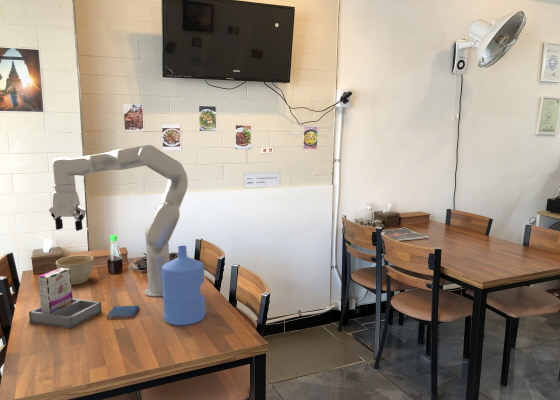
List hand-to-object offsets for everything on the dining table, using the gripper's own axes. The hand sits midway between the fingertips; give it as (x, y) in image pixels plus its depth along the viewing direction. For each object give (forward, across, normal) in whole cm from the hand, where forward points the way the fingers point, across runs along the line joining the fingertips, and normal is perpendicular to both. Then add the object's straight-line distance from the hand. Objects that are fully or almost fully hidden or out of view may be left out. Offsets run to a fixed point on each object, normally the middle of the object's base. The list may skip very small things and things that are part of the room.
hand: (69, 229), depth 176 cm
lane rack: (+31, +8, -15) cm, 35 cm away
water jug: (+32, +53, -4) cm, 62 cm away
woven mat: (+32, +28, -6) cm, 43 cm away
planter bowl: (+31, -17, +21) cm, 41 cm away
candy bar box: (+30, +4, -14) cm, 33 cm away
